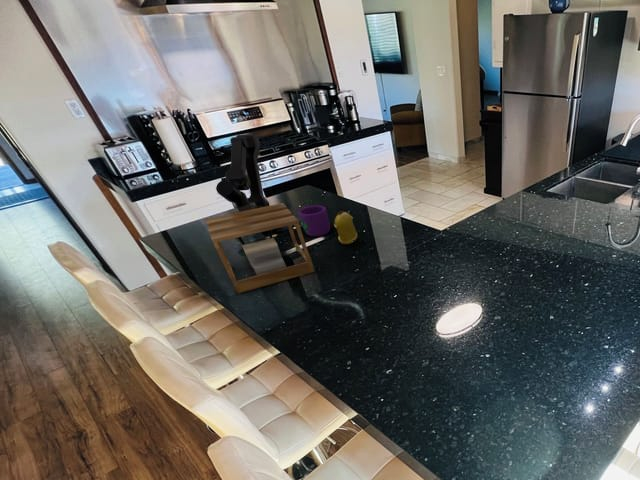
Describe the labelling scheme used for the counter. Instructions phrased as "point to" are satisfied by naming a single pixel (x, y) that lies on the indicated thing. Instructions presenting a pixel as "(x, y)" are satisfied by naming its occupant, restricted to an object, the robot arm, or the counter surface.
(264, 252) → the grey lidded shoebox
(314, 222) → the mug
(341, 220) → the yellow rounded lump
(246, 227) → the shoe rack
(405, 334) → the counter surface
